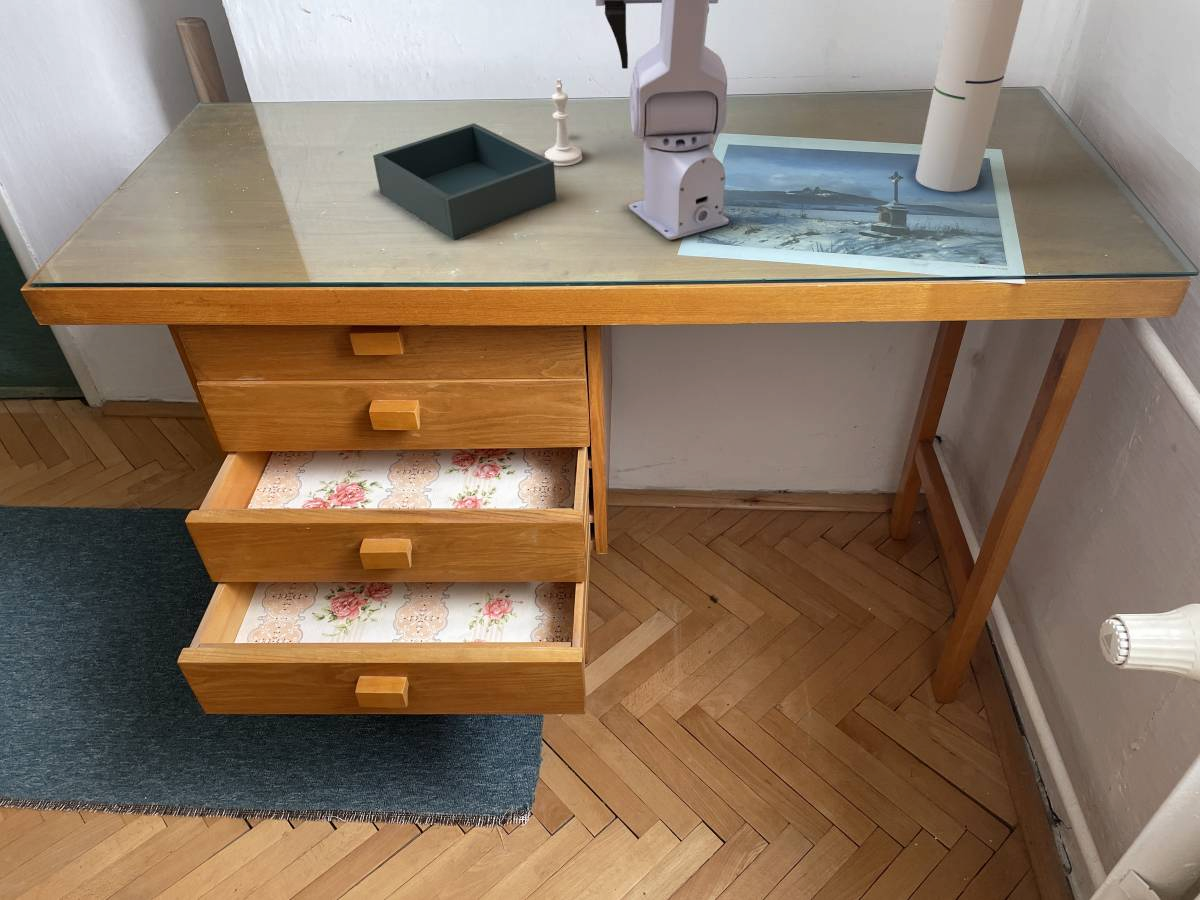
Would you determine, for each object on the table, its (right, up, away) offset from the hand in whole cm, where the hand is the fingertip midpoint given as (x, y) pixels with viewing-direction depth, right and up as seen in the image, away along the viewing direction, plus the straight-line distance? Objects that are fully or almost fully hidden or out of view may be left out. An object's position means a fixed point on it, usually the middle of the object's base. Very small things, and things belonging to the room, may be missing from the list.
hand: (655, 65), depth 114 cm
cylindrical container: (+35, -15, -3) cm, 38 cm away
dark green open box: (-23, -17, -3) cm, 29 cm away
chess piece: (-12, -10, +5) cm, 16 cm away
